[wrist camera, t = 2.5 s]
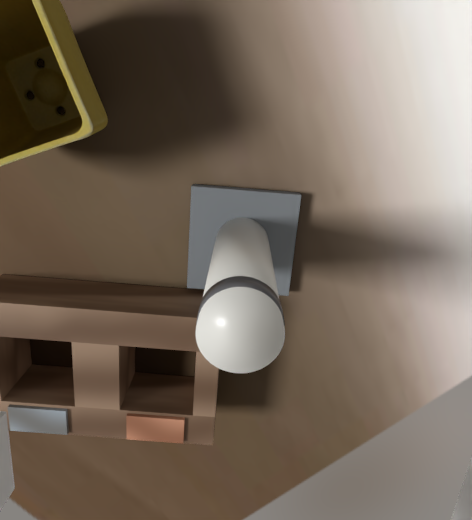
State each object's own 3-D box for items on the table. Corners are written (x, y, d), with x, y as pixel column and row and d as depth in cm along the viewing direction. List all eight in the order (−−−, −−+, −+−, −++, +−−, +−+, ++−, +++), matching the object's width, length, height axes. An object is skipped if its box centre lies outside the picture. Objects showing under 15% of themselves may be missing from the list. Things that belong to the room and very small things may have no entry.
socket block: (2, 274, 35) (-38, 301, 30) (225, 291, 35) (222, 321, 30) (15, 391, 38) (-19, 433, 33) (216, 406, 38) (212, 450, 33)
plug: (216, 214, 32) (196, 289, 18) (271, 219, 32) (291, 296, 18) (213, 266, 33) (192, 370, 20) (266, 270, 33) (280, 377, 20)
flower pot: (85, -5, 28) (16, -56, 20) (136, 127, 31) (95, 134, 22) (-33, 42, 29) (-147, 13, 21) (26, 166, 32) (-53, 186, 23)
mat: (192, 183, 32) (191, 186, 31) (299, 192, 32) (301, 195, 31) (188, 283, 35) (186, 287, 34) (287, 290, 35) (288, 295, 34)
